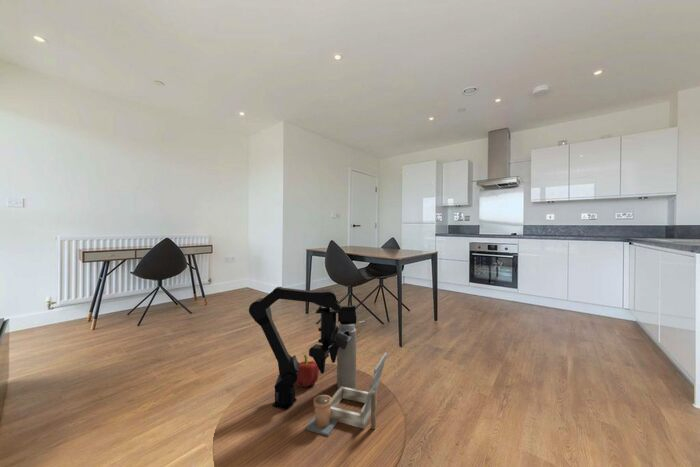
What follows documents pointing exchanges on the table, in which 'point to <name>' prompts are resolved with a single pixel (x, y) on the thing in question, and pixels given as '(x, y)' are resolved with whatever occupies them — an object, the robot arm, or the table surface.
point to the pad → (324, 431)
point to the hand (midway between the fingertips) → (328, 367)
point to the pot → (322, 410)
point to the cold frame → (359, 396)
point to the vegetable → (307, 373)
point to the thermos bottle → (347, 360)
